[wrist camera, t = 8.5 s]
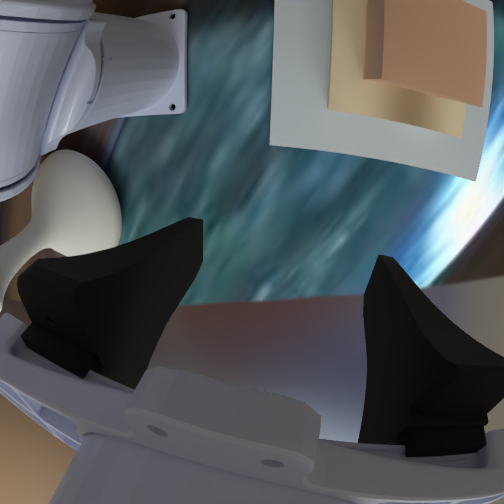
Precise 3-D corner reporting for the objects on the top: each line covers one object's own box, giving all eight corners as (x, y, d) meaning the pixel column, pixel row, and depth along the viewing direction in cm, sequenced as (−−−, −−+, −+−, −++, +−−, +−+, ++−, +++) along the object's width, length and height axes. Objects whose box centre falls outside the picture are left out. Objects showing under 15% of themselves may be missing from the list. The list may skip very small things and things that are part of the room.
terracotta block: (363, 79, 13) (381, 78, 9) (366, 4, 11) (383, -24, 7) (440, 97, 12) (482, 107, 8) (444, 24, 10) (486, 11, 6)
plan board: (271, 142, 20) (269, 145, 19) (277, -43, 12) (275, -47, 12) (471, 177, 17) (475, 181, 17) (487, 3, 10) (492, 2, 9)
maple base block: (326, 106, 17) (328, 110, 15) (331, -9, 13) (333, -23, 10) (443, 129, 16) (461, 138, 13) (451, 19, 11) (470, 12, 9)
